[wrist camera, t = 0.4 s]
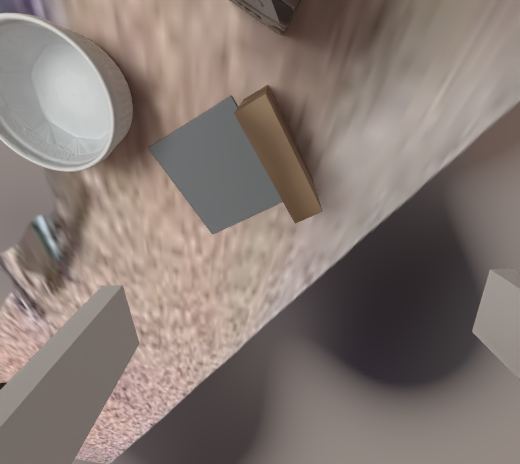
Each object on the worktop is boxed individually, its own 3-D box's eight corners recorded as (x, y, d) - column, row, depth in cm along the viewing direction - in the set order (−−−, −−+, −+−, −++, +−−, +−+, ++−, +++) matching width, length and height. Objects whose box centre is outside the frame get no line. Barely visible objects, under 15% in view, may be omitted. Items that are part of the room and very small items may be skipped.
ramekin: (83, -9, 26) (28, -29, 20) (167, 122, 32) (143, 136, 26) (-4, 65, 30) (-72, 66, 24) (86, 170, 36) (49, 192, 30)
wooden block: (267, 84, 30) (265, 93, 22) (312, 178, 35) (322, 211, 27) (243, 99, 31) (233, 113, 23) (290, 188, 36) (294, 223, 28)
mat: (231, 95, 30) (231, 95, 30) (287, 198, 37) (287, 199, 36) (148, 147, 34) (147, 148, 34) (212, 233, 40) (212, 234, 40)
